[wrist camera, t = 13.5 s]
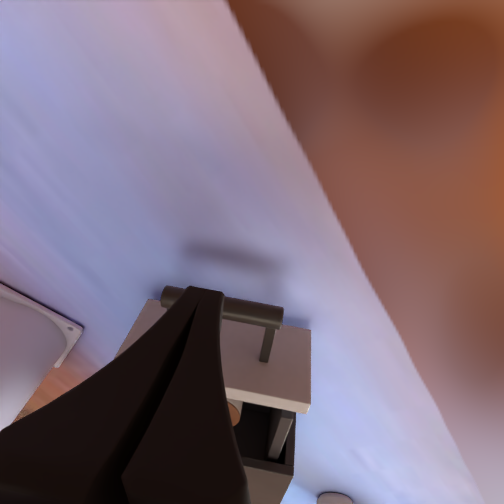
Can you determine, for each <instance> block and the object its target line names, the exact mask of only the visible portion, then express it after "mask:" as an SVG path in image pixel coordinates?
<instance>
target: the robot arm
mask: <svg viewBox="0 0 504 504" xmlns="http://www.w3.org/2000/svg"><path fill="white" fill-rule="evenodd" d="M223 305H224V294H223V293H222V292H220V291H214V290H209V289H204V288H199V287H193V286H189V287H187V288H186V289H185V291H184V292H183V293H182V294H181V296H180V297H179V298H178V299H177V300H176V301H175V303H174V304H173V305H172V306H171V307H170V308H169V309H168V310H167V311H166V312H165V313H164V314H163V315H162V316H161V318H160V319H159V320H158V321H157V322H156V323H155V324H154V325H153V326H152V327H151V328H150V329H148V330H147V331H146V332H145V333H144V334H143V335H142V336H141V337H140V338H139V339H138V340H136V341H135V342H134V343H133V344H132V345H131V346H130V347H129V348H127V349H126V350H125V351H124V352H123V353H121V354H120V355H119V356H118V357H116V358H115V359H114V360H112V361H111V362H110V363H109V364H107V365H106V366H105V367H103V368H102V369H100V370H99V371H98V372H96V373H95V374H94V375H92V376H91V377H89V378H88V379H86V380H85V381H83V382H82V383H80V384H79V385H77V386H76V387H74V388H73V389H71V390H69V391H68V392H66V393H65V394H63V395H61V396H60V397H58V398H57V399H55V400H53V401H52V402H50V403H49V404H47V405H45V406H43V407H42V408H40V409H38V410H36V411H34V412H33V413H31V414H29V415H27V416H25V417H23V418H22V419H20V420H18V421H16V422H14V423H13V424H12V422H13V421H14V419H15V418H16V417H17V415H18V414H19V413H20V411H21V410H22V408H23V407H24V406H25V404H26V403H27V402H28V400H29V399H30V397H31V396H32V395H33V393H34V392H35V391H36V389H37V388H38V387H39V385H40V384H41V382H42V381H43V380H44V378H45V377H46V376H47V374H48V373H49V371H50V370H51V369H52V367H56V368H57V367H59V366H60V365H61V364H62V362H63V361H64V359H65V358H66V356H67V355H68V353H69V352H70V350H71V349H72V347H73V346H74V344H75V343H76V341H77V340H78V338H79V337H80V335H81V334H82V332H83V328H82V327H81V326H79V325H77V324H76V323H74V322H72V321H70V320H68V319H66V318H64V317H62V316H61V315H59V314H57V313H55V312H53V311H51V310H49V309H47V308H45V307H44V306H42V305H40V304H38V303H36V302H34V301H32V300H30V299H29V298H27V297H25V296H23V295H21V294H19V293H17V292H15V291H14V290H12V289H10V288H8V287H6V286H4V285H2V284H0V504H251V499H250V493H249V487H248V480H247V476H246V473H245V470H244V466H243V463H242V460H241V456H240V453H239V449H238V445H237V441H236V438H235V434H234V430H233V425H232V421H231V416H230V412H229V407H228V402H227V397H226V391H225V385H224V378H223V371H222V362H221V351H220V331H221V327H222V316H223Z"/></svg>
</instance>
